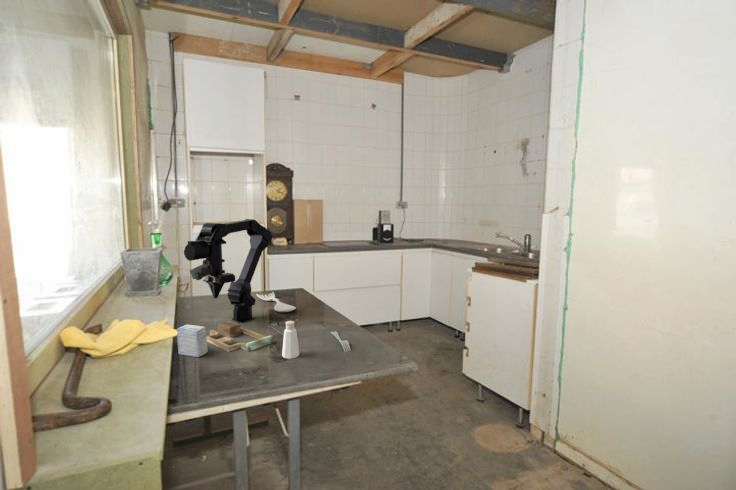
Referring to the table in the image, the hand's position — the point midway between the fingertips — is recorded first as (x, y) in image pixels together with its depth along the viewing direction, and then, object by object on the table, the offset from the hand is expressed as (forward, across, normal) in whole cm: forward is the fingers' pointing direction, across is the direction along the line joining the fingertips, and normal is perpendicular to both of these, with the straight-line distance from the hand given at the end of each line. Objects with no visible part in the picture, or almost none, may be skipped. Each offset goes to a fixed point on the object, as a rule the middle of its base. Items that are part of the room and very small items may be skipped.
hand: (215, 298), depth 145 cm
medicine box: (+12, +16, -17) cm, 26 cm away
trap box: (+12, +15, -2) cm, 20 cm away
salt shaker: (+12, +40, +2) cm, 42 cm away
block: (+12, +8, 0) cm, 15 cm away
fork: (+13, +44, +21) cm, 50 cm away
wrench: (+13, +20, +14) cm, 28 cm away
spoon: (+12, -9, +34) cm, 38 cm away
